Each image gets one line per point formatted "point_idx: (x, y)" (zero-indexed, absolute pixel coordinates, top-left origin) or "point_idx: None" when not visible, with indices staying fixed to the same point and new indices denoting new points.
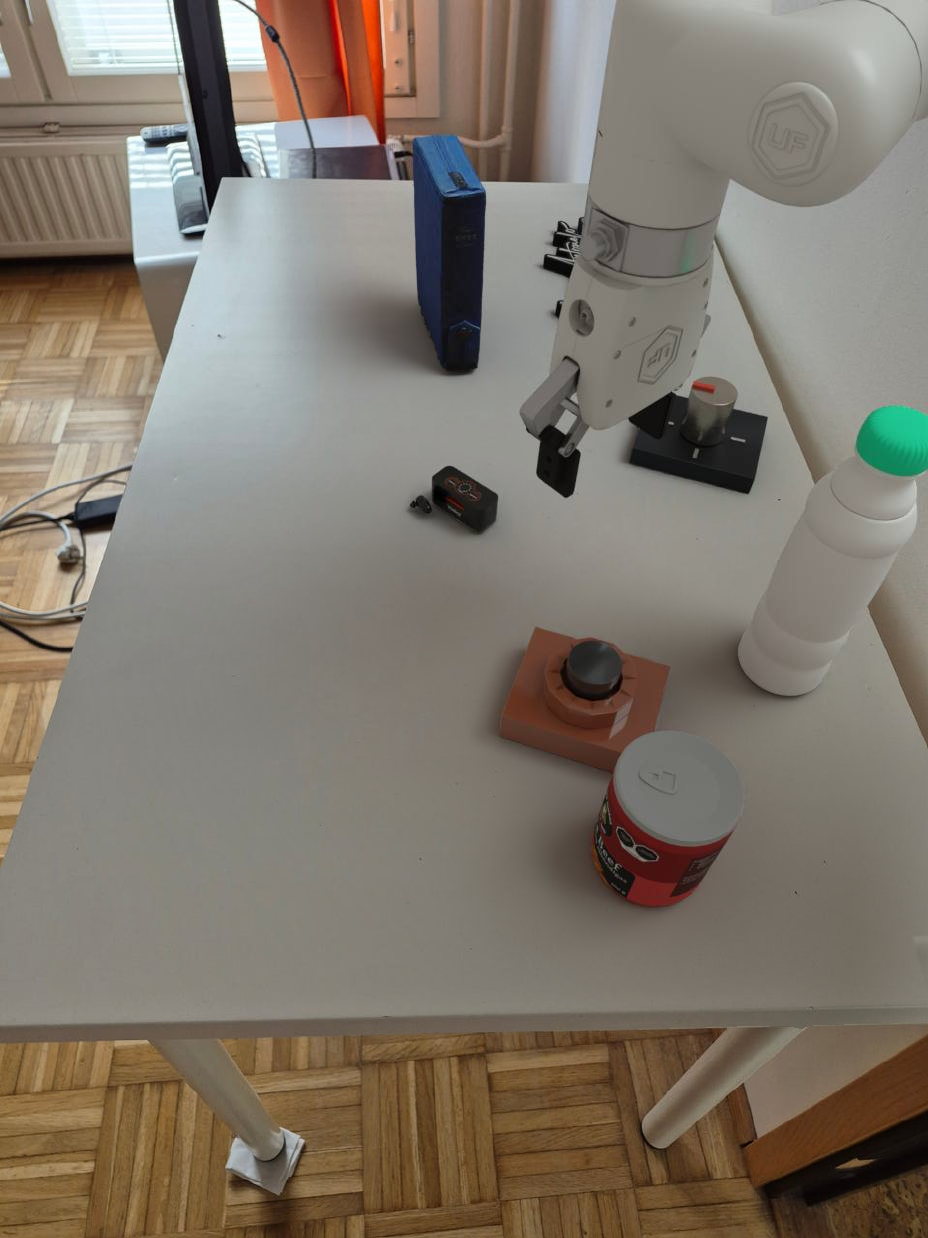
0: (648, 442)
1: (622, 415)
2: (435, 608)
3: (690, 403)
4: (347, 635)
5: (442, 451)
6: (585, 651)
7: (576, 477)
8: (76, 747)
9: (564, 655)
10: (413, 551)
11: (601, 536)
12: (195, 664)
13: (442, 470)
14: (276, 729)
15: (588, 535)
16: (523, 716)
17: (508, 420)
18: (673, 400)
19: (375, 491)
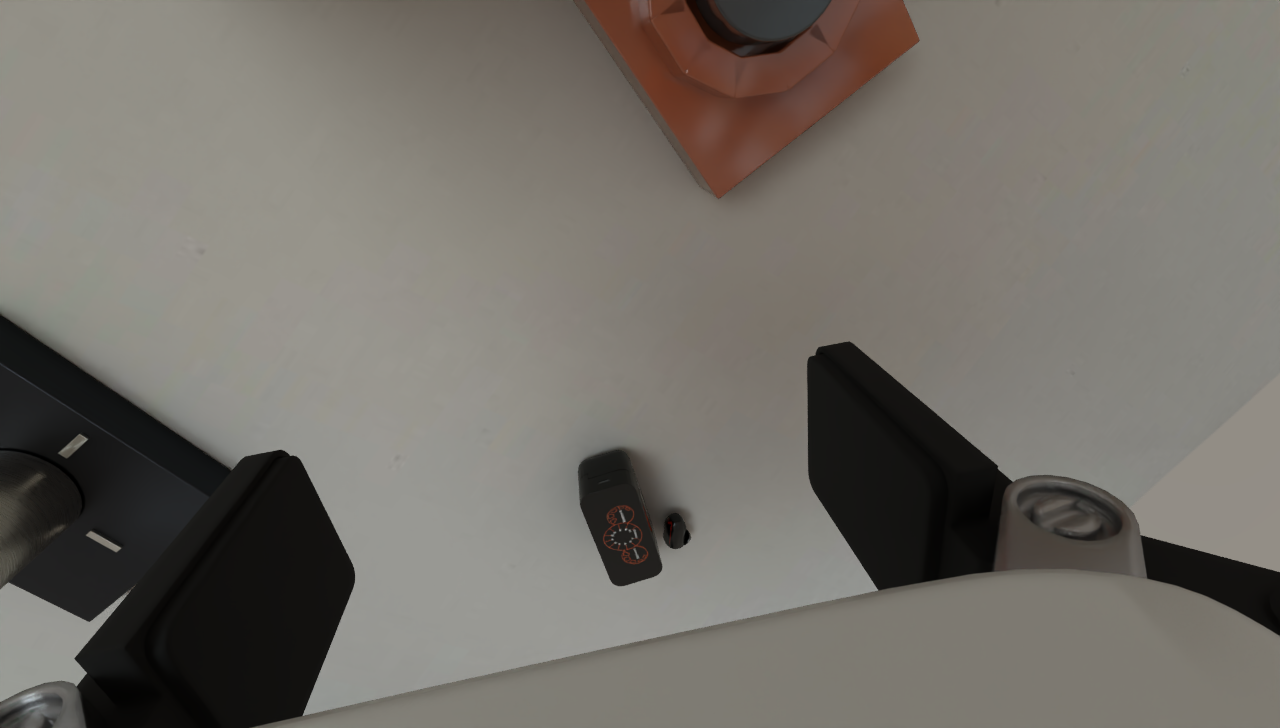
0: (181, 509)
1: (951, 656)
2: (779, 347)
3: (9, 567)
4: (917, 363)
5: (568, 610)
6: (772, 6)
7: (848, 389)
8: (1263, 363)
9: (770, 63)
10: (734, 460)
11: (412, 351)
12: (1090, 411)
13: (634, 580)
14: (1101, 263)
15: (436, 365)
16: (890, 9)
17: (424, 633)
18: (119, 619)
19: (708, 577)
